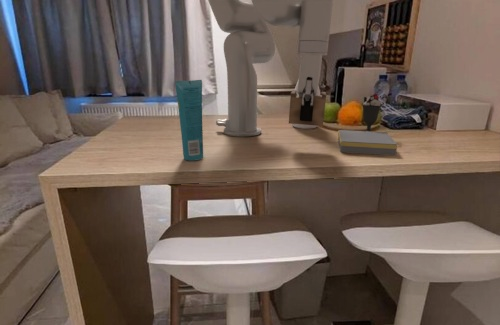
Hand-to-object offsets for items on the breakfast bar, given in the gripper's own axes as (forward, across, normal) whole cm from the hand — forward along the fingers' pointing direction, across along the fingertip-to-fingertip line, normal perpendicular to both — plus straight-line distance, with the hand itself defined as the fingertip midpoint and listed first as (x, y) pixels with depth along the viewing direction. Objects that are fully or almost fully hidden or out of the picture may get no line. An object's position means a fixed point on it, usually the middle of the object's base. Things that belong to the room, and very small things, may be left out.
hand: (306, 117), depth 89 cm
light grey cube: (-6, 0, 0) cm, 6 cm away
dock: (+8, -5, +17) cm, 20 cm away
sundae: (+9, -20, +20) cm, 30 cm away
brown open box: (+1, 0, 0) cm, 1 cm away
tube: (+9, +16, -27) cm, 33 cm away
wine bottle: (+10, -29, -1) cm, 31 cm away
